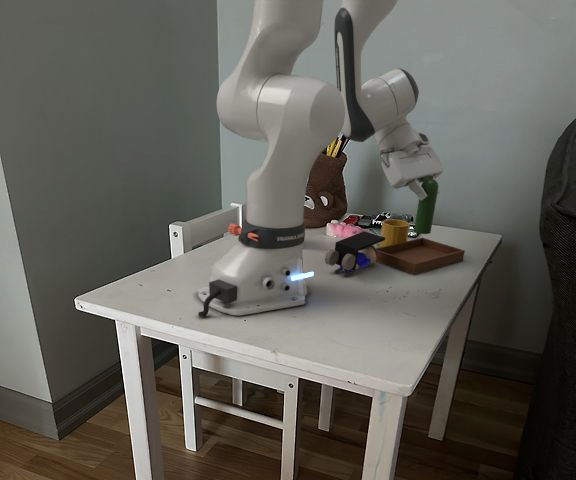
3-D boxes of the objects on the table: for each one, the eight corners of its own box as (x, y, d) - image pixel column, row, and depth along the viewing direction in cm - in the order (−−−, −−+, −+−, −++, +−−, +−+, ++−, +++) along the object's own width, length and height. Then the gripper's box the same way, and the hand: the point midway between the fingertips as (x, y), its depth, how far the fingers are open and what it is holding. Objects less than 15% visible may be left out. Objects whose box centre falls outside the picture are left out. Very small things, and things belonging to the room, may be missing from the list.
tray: (413, 275, 126) (415, 264, 124) (371, 259, 134) (372, 249, 133) (462, 260, 136) (465, 250, 135) (420, 247, 145) (422, 237, 144)
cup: (394, 251, 141) (397, 227, 138) (373, 244, 145) (376, 221, 142) (411, 247, 145) (415, 224, 142) (391, 240, 149) (394, 218, 146)
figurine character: (347, 286, 121) (384, 264, 130) (348, 254, 116) (386, 233, 126) (323, 279, 125) (360, 258, 134) (323, 247, 120) (362, 227, 129)
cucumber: (423, 234, 132) (433, 177, 125) (410, 231, 134) (419, 174, 128) (433, 232, 134) (443, 176, 127) (420, 228, 137) (430, 173, 130)
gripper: (387, 141, 120) (419, 194, 120) (430, 135, 134) (459, 183, 134) (367, 159, 125) (398, 211, 125) (411, 152, 139) (439, 198, 139)
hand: (430, 196), depth 130 cm, fingers closed on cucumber, 4 cm apart
